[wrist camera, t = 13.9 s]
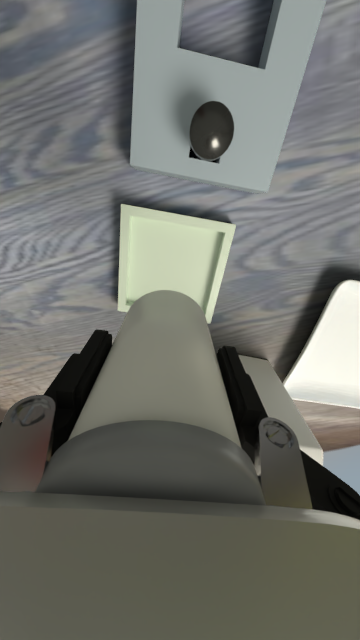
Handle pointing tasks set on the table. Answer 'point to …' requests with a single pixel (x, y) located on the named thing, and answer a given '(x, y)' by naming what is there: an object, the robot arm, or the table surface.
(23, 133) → the table surface
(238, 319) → the table surface
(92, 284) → the table surface
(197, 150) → the plunger
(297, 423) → the milk carton
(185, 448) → the cartridge
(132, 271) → the tray
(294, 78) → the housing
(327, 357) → the salad plate
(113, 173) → the table surface
